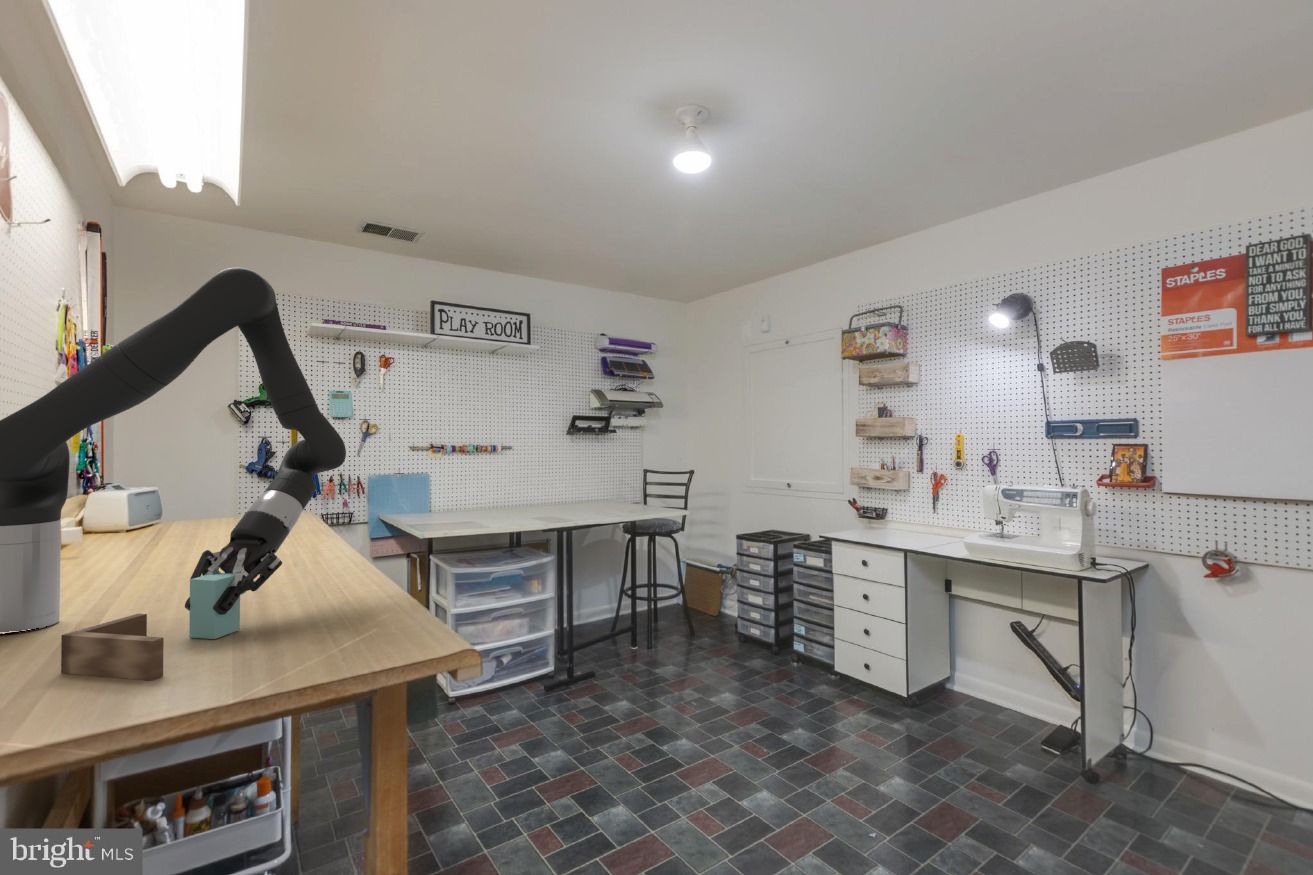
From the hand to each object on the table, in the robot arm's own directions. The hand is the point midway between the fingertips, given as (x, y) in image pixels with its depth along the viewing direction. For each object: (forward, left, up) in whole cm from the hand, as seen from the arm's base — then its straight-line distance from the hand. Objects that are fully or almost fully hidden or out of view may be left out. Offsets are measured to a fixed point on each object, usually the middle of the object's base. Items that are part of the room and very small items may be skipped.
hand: (204, 610), depth 91 cm
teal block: (0, +2, -4) cm, 5 cm away
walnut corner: (+1, -10, -4) cm, 11 cm away
